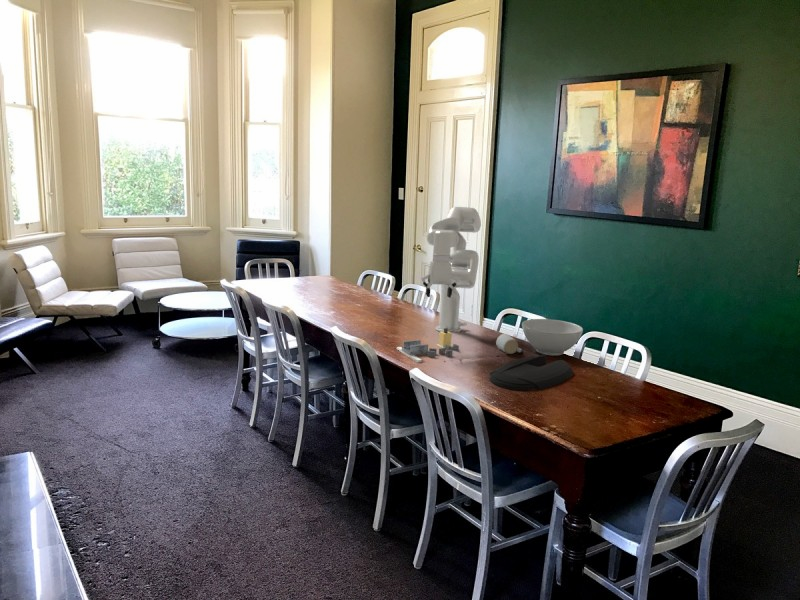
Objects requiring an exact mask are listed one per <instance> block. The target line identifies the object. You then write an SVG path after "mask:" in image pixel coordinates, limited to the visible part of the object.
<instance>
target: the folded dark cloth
mask: <svg viewBox="0 0 800 600" xmlns="http://www.w3.org/2000/svg"><path fill="white" fill-rule="evenodd" d="M573 375H574V371H573V368H572V367H571V366H570V364H569V363H568V362H566V360H564V359H559V360H555V361H552V362H549V363H547V355H533V356H532V355H531V356H526V357H523V358H522V357H521V358H517V359H516V360H512V361H509V362H506V363H504V364H502V365H500V366H498V367H496V368H495V369H493V370H491V372H490V373H489V381H490V383H492V384H493V385H495V386H497V387H500V388H503V389H506V390H507V389H508V390H511V391H534V389H537V390H536V391H540V390H544V389H548V388H551V387H554V386H557V385H559V384H561V383H564V382H565V381H567V380H568V379H570V378H571V377H572V376H573Z"/></svg>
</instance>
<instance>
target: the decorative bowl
mask: <svg viewBox="0 0 800 600" xmlns="http://www.w3.org/2000/svg"><path fill="white" fill-rule="evenodd" d="M521 327H522V332H523V335H524V337H525V338H526V340H527V342H528V344H530V345H531V346H532V347H533V348H534V349H535V351H536V352H537V353H538V354H541V355H544V356H561V355H563V354H565V352H566V351H568V350H570V349H571V348H573V347H574V346H575V345H576V344H577V343H578V341H579V340H580V338H581V337H582V335H583V331H584V329H583V327H582V326H581V325H578V324H575V323H573V322H570V321H569V322H568V321H564V320H558V319H549V318H532V319H526V320H524V321H522V323H521Z"/></svg>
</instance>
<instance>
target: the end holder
mask: <svg viewBox="0 0 800 600" xmlns="http://www.w3.org/2000/svg"><path fill="white" fill-rule="evenodd" d="M401 347H402V351H404V352H405V353H407V354H408V355H415V356H417V355H428V351H429V344H426V343H425V344H424V343H423V344H421V340H420V339H415V340H414V339H413V340H403V341H402V346H401Z"/></svg>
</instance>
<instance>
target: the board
mask: <svg viewBox="0 0 800 600" xmlns="http://www.w3.org/2000/svg"><path fill="white" fill-rule="evenodd" d="M435 345H437V346H438V347H440V348H434V347H433V348H432V347H429V348H428V354H427V358H436V355H437V352H438V355H439V356H441V355H445V358H448V357H452V356H453V351H454V352H459V348H460V345H458V344H457V343H453V345H451V346H449V345H445V347H442V346H440V345H439V343H437V344H435ZM402 347H403V346H397V347H396V350H397V351H398V350H399V351H398V352H401V354H403V355H404V356H406V357H408V358H409V357H410V358H409V359H411V360H413V361H414V362H416V363H417V364H418V363H425V362H426V361H424V360H423V359H421V358H419V357H418V356H417V355H408V354H407V353H405V352H404V351H402ZM437 350H438V351H437Z"/></svg>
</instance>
